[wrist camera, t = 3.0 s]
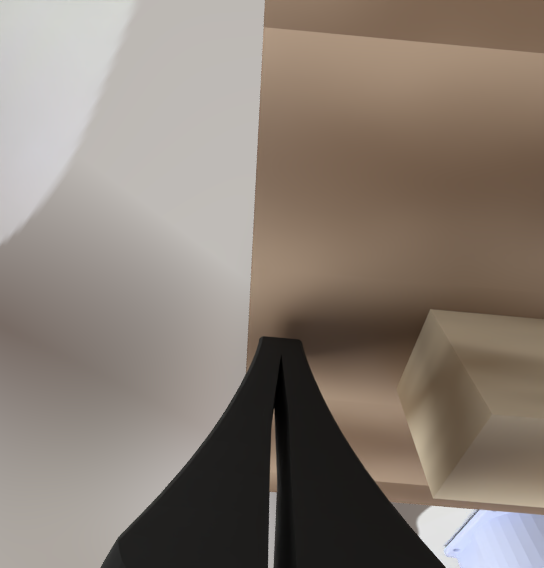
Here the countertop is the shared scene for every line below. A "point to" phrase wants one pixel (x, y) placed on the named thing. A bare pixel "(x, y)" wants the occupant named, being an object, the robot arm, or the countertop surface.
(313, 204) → the trap deck
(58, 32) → the countertop surface
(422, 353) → the beech cube
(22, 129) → the countertop surface
